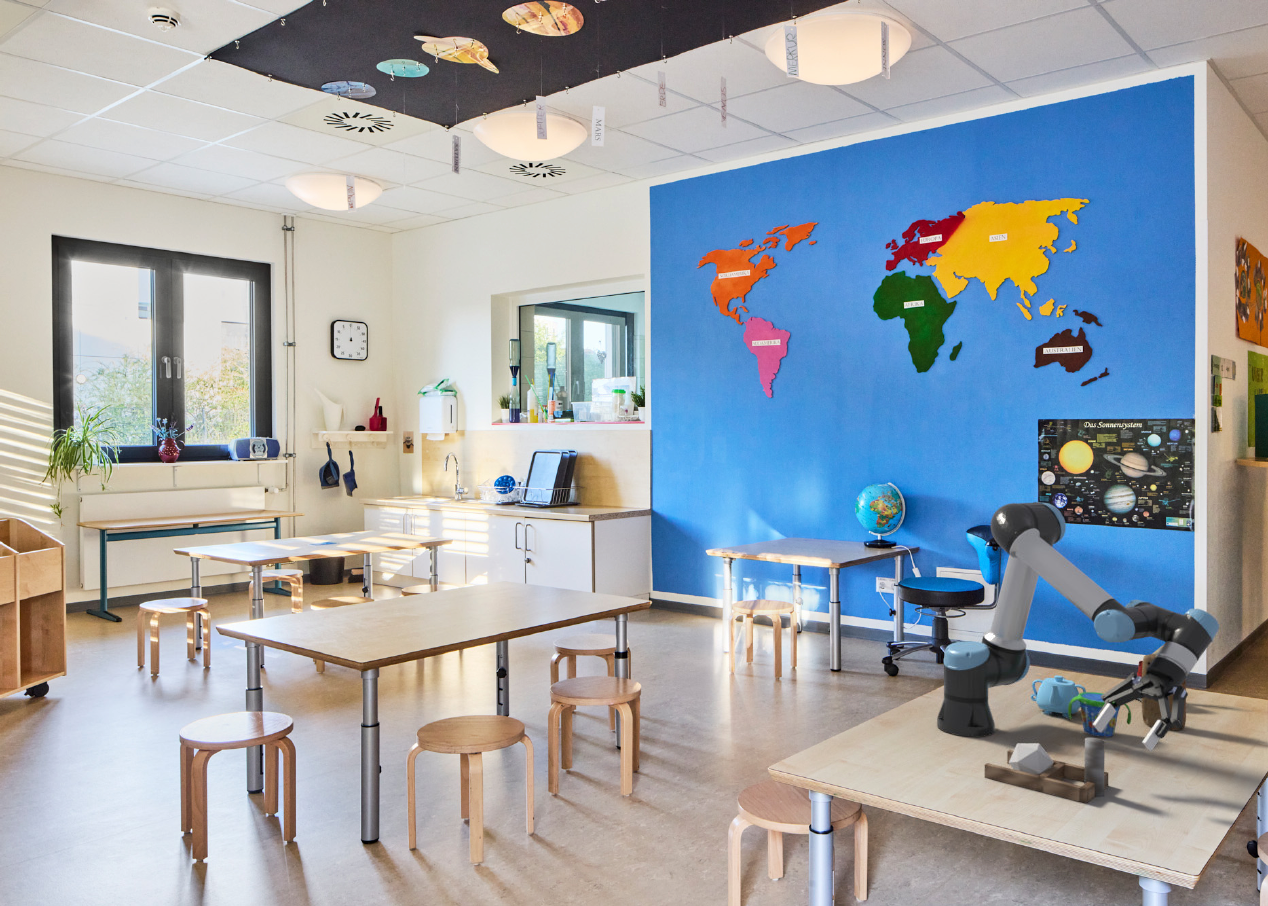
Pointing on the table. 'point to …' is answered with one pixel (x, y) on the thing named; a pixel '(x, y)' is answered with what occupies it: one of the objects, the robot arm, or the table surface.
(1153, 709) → the block
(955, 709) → the robot arm
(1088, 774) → the frame
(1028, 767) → the die
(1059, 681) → the teapot
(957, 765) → the table surface
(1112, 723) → the snack cup
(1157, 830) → the table surface
